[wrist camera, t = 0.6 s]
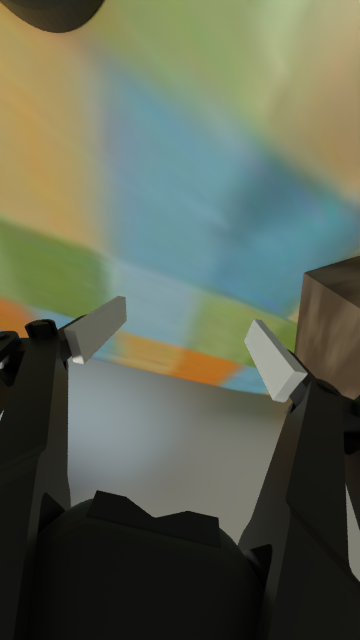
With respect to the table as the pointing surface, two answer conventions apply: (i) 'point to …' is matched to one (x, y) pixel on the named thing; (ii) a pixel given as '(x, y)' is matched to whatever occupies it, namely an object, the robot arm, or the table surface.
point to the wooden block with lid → (331, 325)
